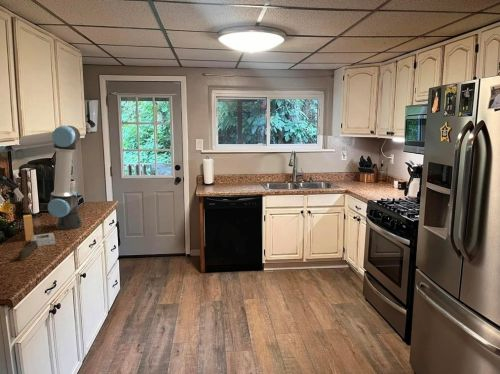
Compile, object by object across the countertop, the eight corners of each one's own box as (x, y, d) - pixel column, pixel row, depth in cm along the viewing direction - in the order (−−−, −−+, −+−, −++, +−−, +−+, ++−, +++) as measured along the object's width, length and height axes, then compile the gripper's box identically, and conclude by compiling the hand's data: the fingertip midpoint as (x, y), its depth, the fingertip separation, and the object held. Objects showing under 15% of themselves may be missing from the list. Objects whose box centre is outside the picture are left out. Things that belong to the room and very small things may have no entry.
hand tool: (30, 249, 201) (29, 240, 200) (38, 248, 201) (37, 240, 200) (14, 262, 182) (13, 253, 181) (23, 261, 183) (22, 252, 182)
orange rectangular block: (33, 237, 219) (31, 214, 216) (34, 239, 215) (31, 215, 213) (25, 238, 217) (23, 215, 214) (26, 240, 213) (23, 216, 211)
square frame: (53, 238, 218) (52, 232, 217) (55, 243, 209) (54, 237, 208) (31, 241, 212) (30, 235, 211) (32, 247, 203) (32, 240, 202)
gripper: (4, 172, 227) (25, 200, 226) (-35, 177, 202) (-11, 208, 202) (11, 165, 225) (33, 192, 225) (-26, 168, 201) (-2, 199, 200)
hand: (12, 200), depth 213 cm, fingers open, 13 cm apart
